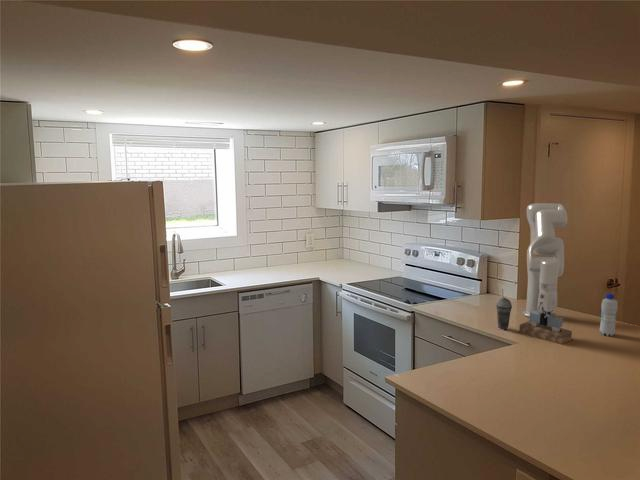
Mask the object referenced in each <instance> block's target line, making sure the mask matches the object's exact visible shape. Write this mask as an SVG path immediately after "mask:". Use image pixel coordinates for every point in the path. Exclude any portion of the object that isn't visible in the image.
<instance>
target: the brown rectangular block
mask: <svg viewBox="0 0 640 480" xmlns="http://www.w3.org/2000/svg"><path fill="white" fill-rule="evenodd" d="M518 331H519V332H521V333H520V334H523V333H524V334H523V335H526V334H527V336H530V337H533V338H537V339H540V340H541V339H542V340H544V341H547V342H552V343H554V344H559V345H563V344H565V343H567V342H568V341H570V340H572V336H573V331H572V330H569V329H566V328H562V327H560V332H559V333H557V332H553V331H552V326H549V325H547V326H543V325H540V323H539V327H534V326H531V321H529V320H527V321H525V322H522V323H520V324H519V329H518ZM519 332H518V333H519Z"/></svg>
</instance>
